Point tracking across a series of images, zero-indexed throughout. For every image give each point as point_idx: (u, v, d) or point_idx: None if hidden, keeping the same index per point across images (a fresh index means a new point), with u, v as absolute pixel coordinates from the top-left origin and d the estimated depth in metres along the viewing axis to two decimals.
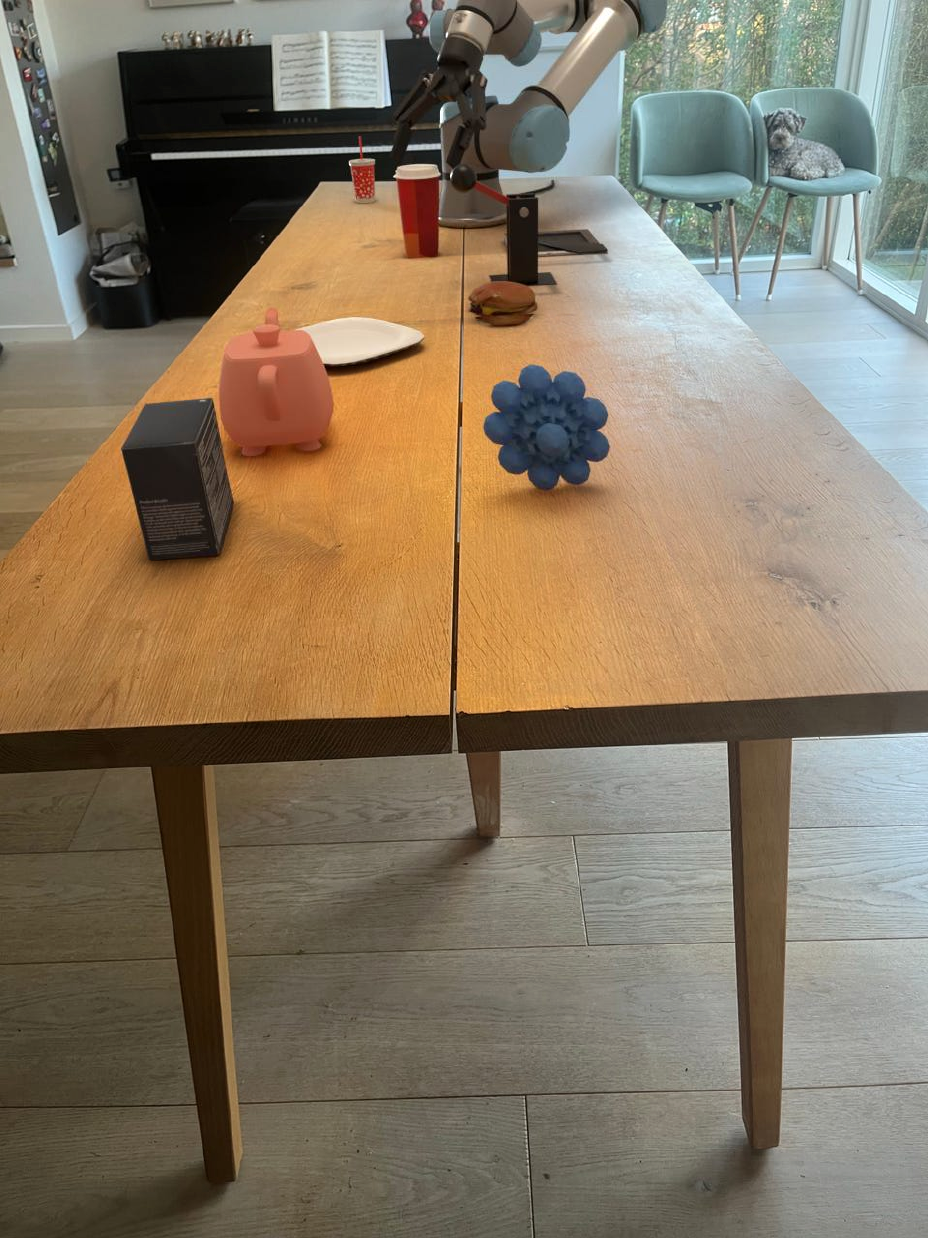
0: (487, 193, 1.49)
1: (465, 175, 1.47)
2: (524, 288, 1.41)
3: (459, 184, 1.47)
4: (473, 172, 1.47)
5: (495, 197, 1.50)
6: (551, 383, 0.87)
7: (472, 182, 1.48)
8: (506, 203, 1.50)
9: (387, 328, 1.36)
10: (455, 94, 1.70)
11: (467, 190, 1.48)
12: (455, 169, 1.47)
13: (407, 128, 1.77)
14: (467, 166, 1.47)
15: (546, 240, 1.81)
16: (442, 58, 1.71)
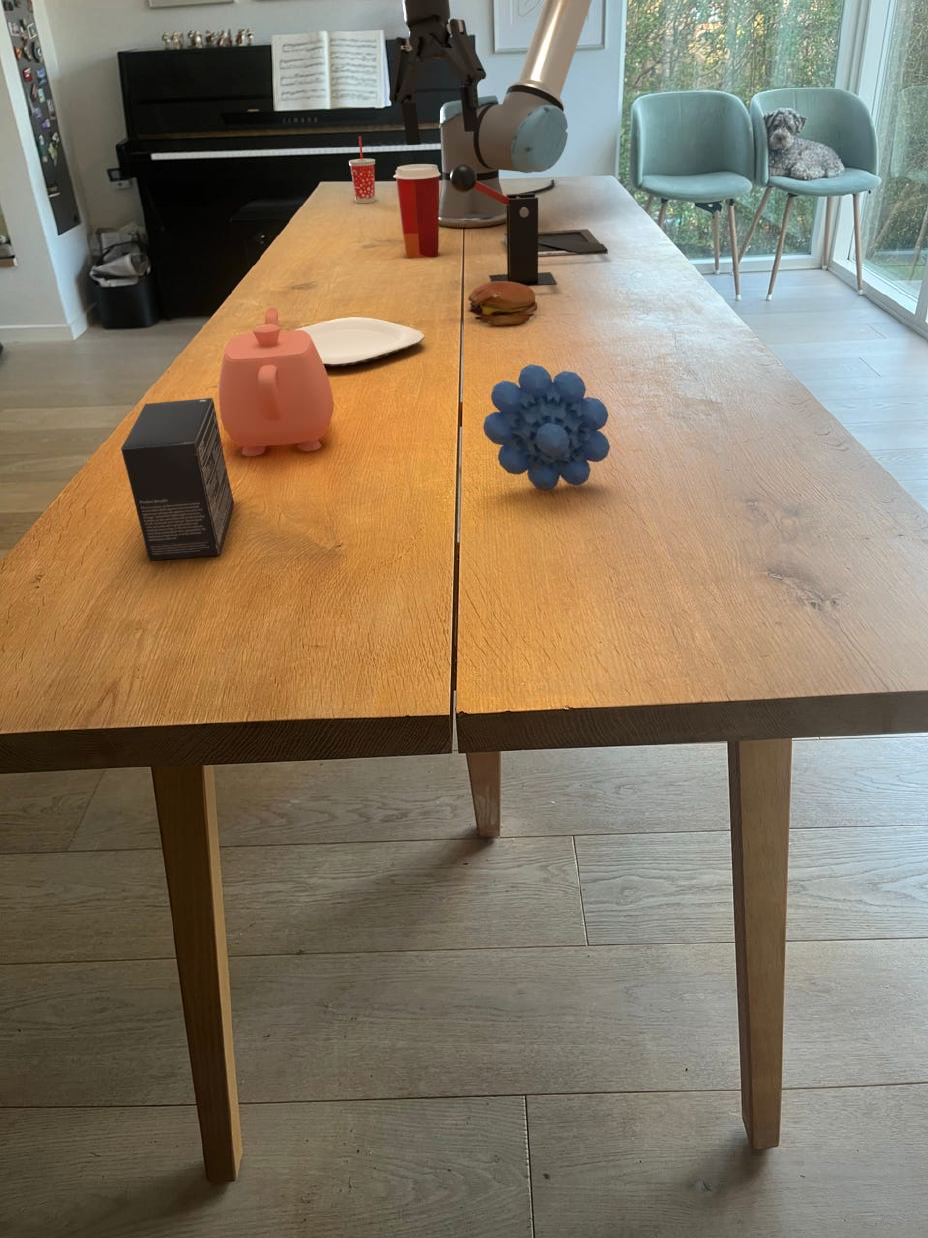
0: (487, 193, 1.49)
1: (465, 175, 1.47)
2: (524, 288, 1.41)
3: (459, 184, 1.47)
4: (473, 172, 1.47)
5: (495, 197, 1.50)
6: (551, 383, 0.87)
7: (472, 182, 1.48)
8: (506, 203, 1.50)
9: (387, 327, 1.36)
10: (441, 55, 1.61)
11: (467, 190, 1.48)
12: (455, 169, 1.47)
13: (409, 105, 1.70)
14: (467, 166, 1.47)
15: (546, 240, 1.81)
16: (411, 22, 1.61)
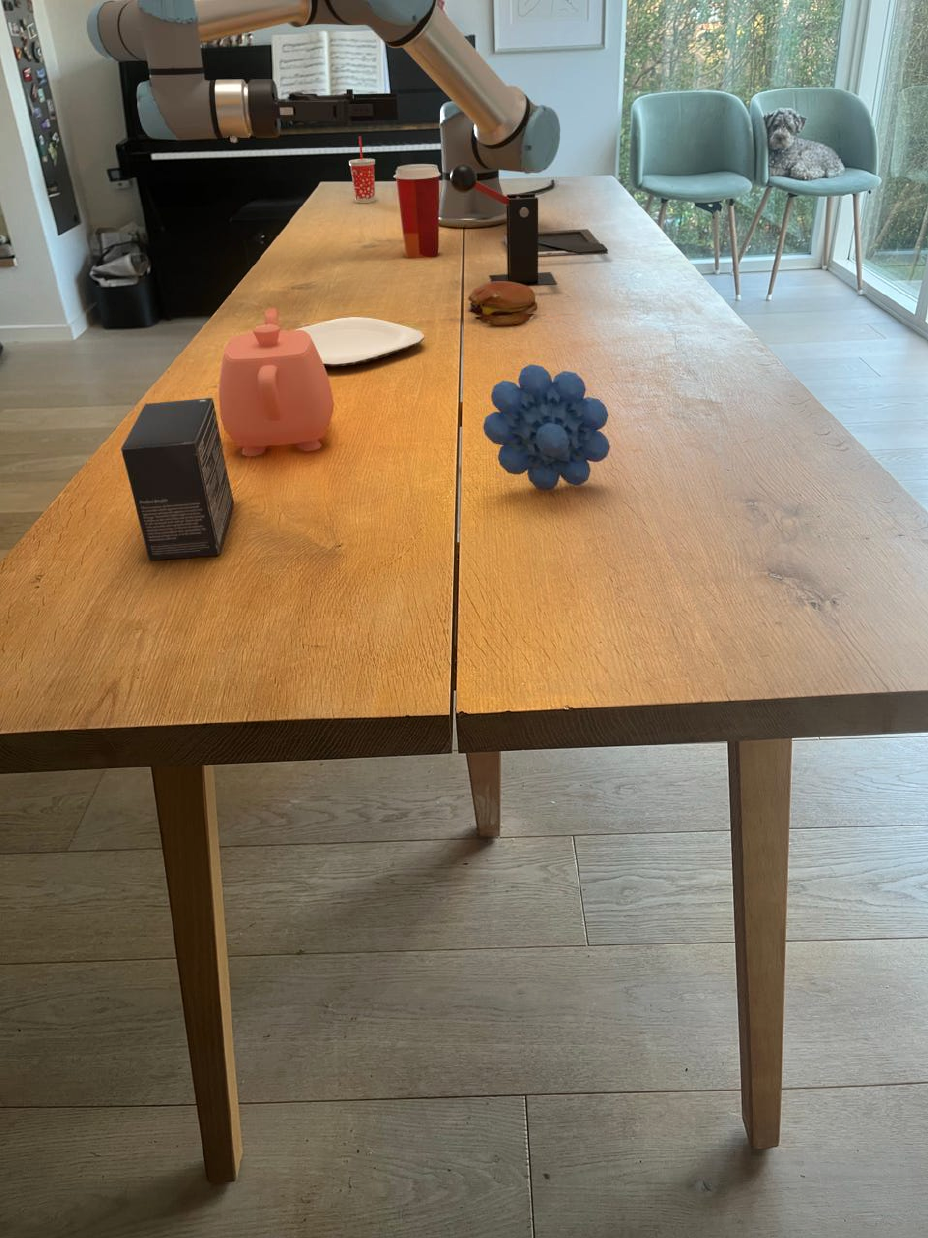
0: (487, 193, 1.49)
1: (465, 175, 1.47)
2: (524, 288, 1.41)
3: (459, 184, 1.47)
4: (473, 172, 1.47)
5: (495, 197, 1.50)
6: (551, 383, 0.87)
7: (472, 182, 1.48)
8: (506, 203, 1.50)
9: (387, 328, 1.36)
10: (315, 121, 1.41)
11: (467, 190, 1.48)
12: (455, 169, 1.47)
13: None
14: (467, 166, 1.47)
15: (546, 240, 1.81)
16: (280, 130, 1.45)
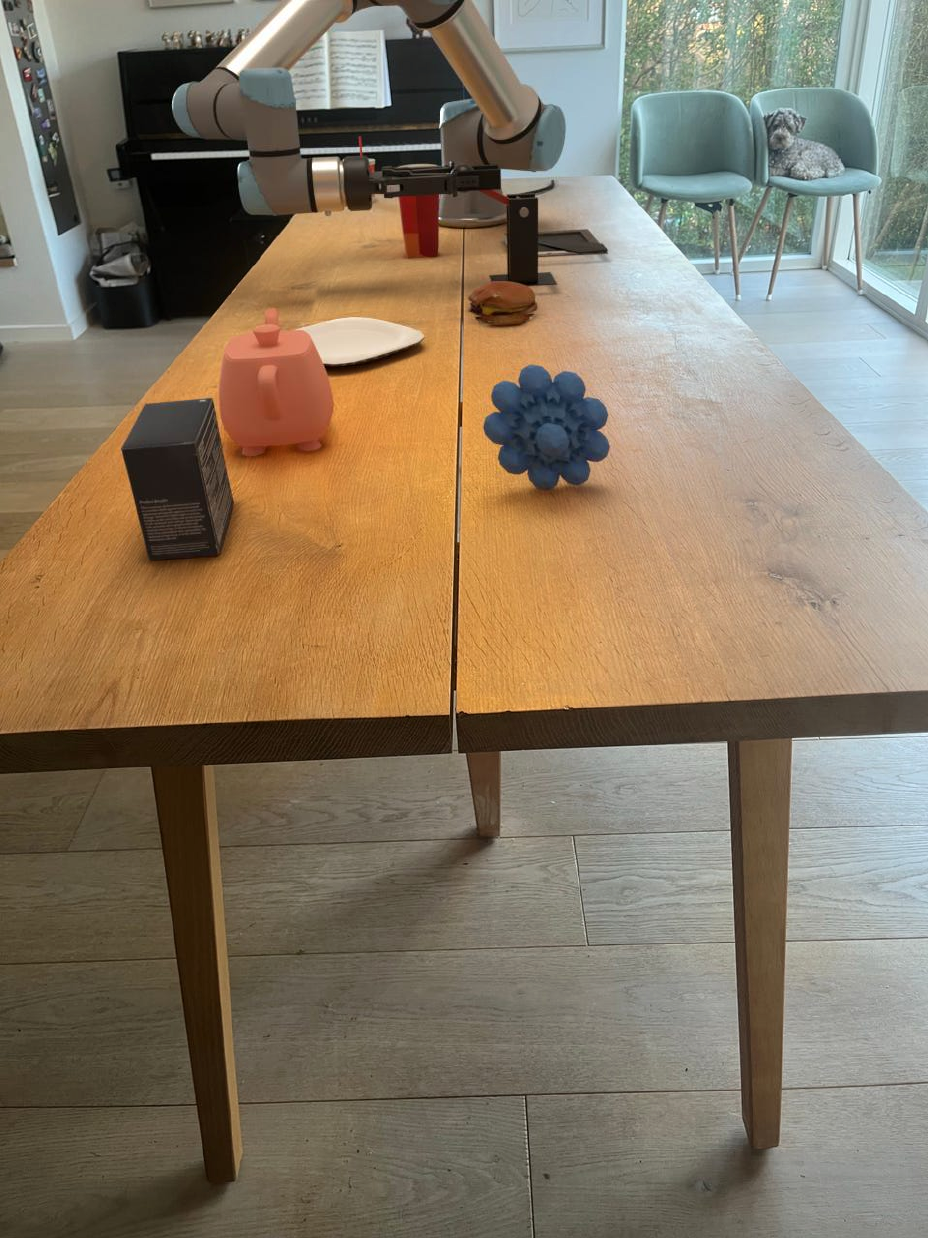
0: (487, 193, 1.49)
1: None
2: (524, 288, 1.41)
3: None
4: None
5: (495, 197, 1.50)
6: (551, 383, 0.87)
7: None
8: (506, 203, 1.50)
9: (387, 328, 1.36)
10: None
11: None
12: (455, 169, 1.47)
13: None
14: (467, 166, 1.47)
15: (546, 240, 1.81)
16: None
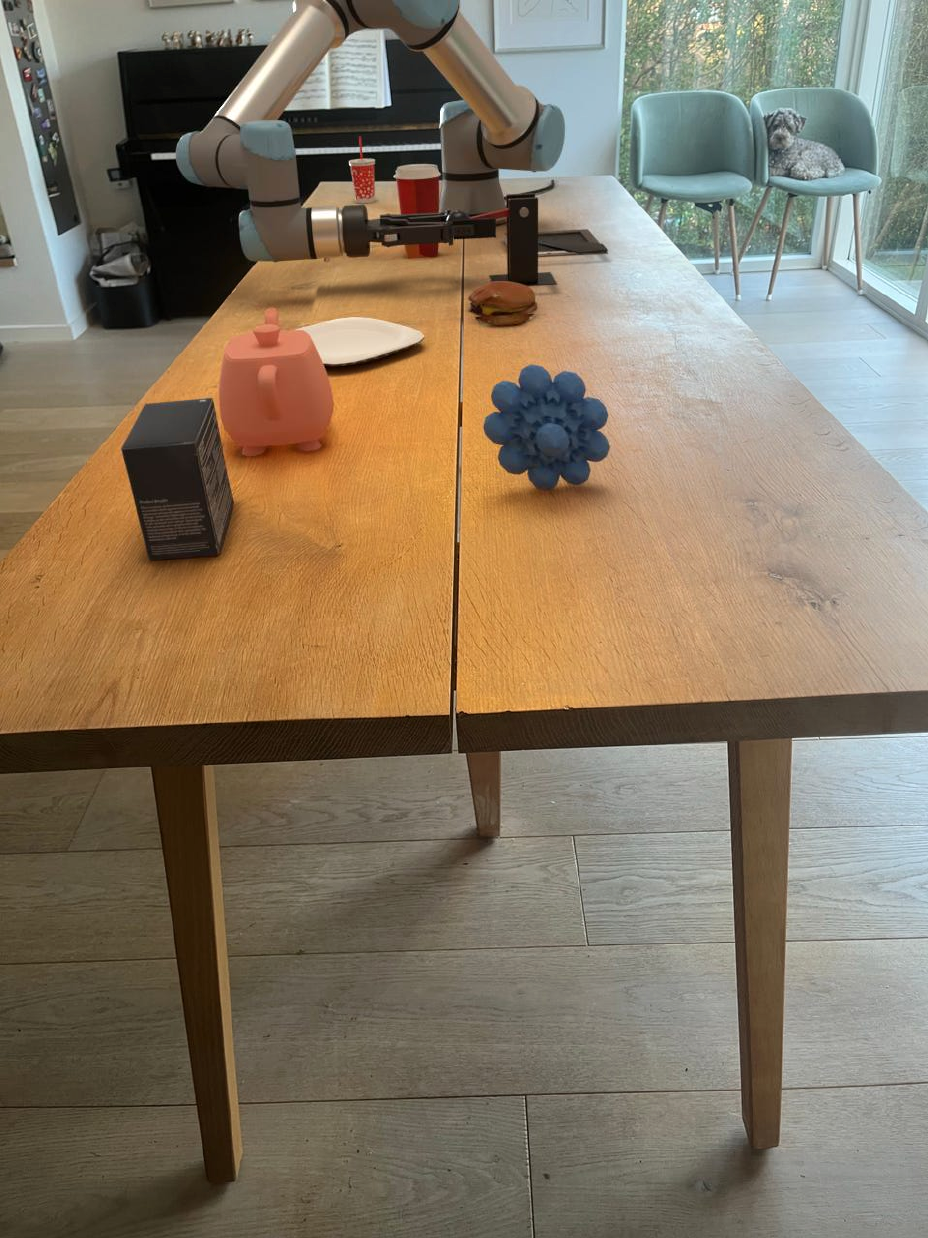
0: None
1: None
2: (524, 288, 1.41)
3: None
4: (462, 213, 1.50)
5: None
6: (551, 383, 0.87)
7: None
8: (506, 215, 1.51)
9: (387, 328, 1.36)
10: None
11: None
12: None
13: None
14: (454, 213, 1.50)
15: (546, 240, 1.81)
16: None
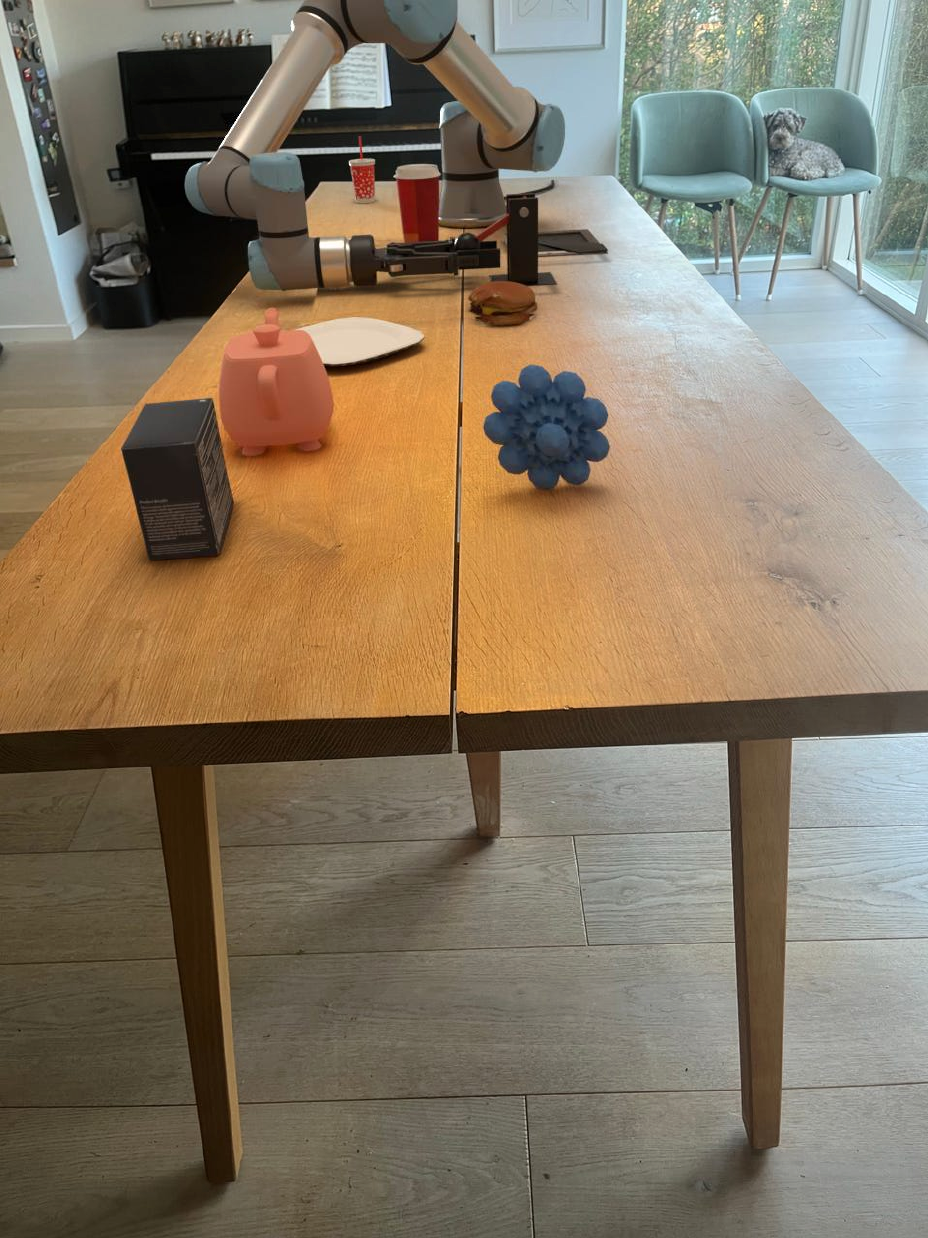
0: (490, 233, 1.52)
1: (465, 245, 1.52)
2: (524, 288, 1.41)
3: None
4: (467, 235, 1.52)
5: (498, 227, 1.52)
6: (551, 383, 0.87)
7: (474, 242, 1.52)
8: None
9: (387, 327, 1.36)
10: None
11: None
12: (456, 249, 1.53)
13: None
14: (459, 237, 1.52)
15: (546, 240, 1.81)
16: None
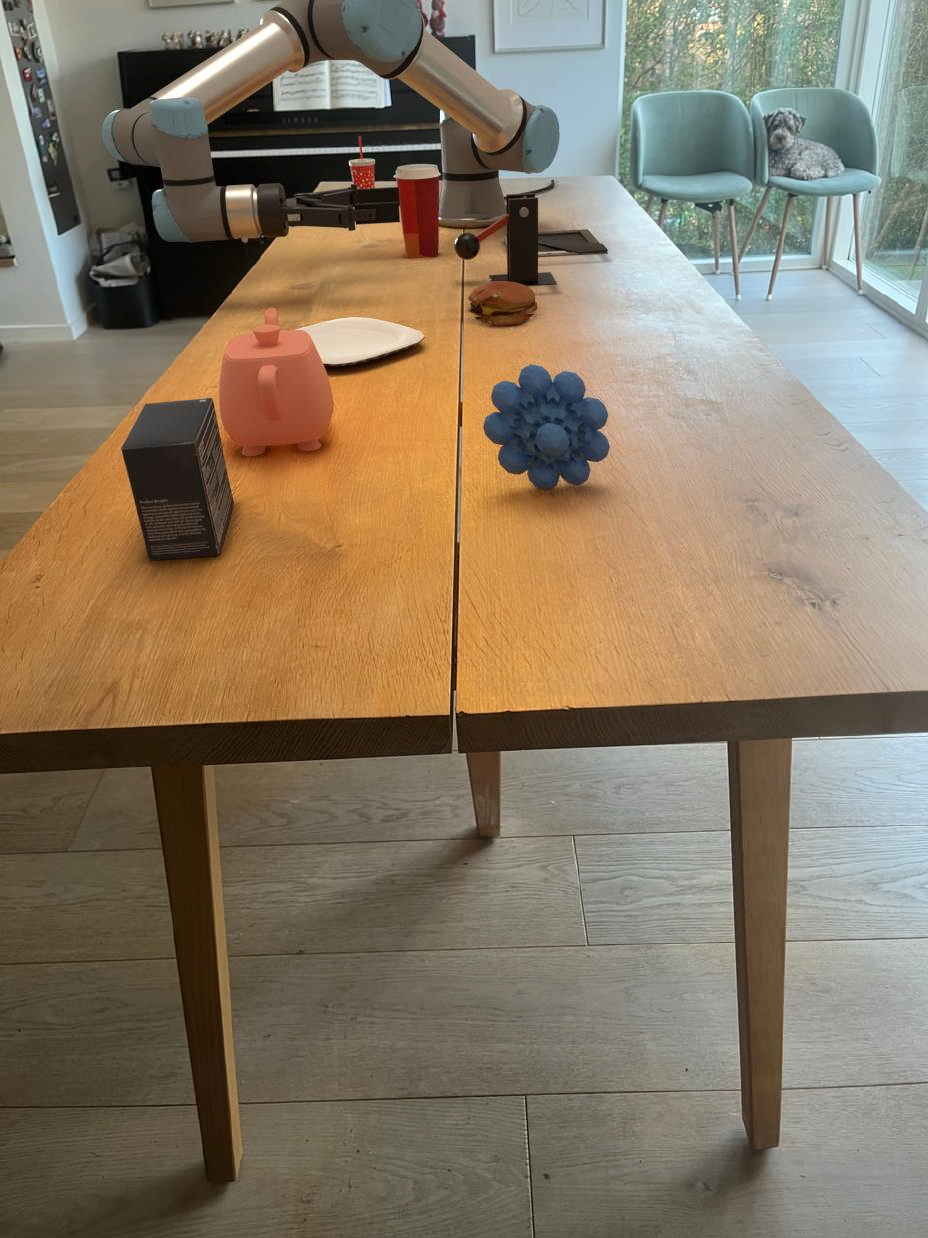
0: (490, 233, 1.52)
1: (465, 245, 1.52)
2: (524, 288, 1.41)
3: (468, 254, 1.53)
4: (467, 235, 1.52)
5: (498, 227, 1.52)
6: (551, 383, 0.87)
7: (474, 242, 1.52)
8: None
9: (387, 327, 1.36)
10: None
11: (477, 249, 1.53)
12: (456, 249, 1.53)
13: (360, 199, 1.55)
14: (459, 237, 1.52)
15: (546, 240, 1.81)
16: None
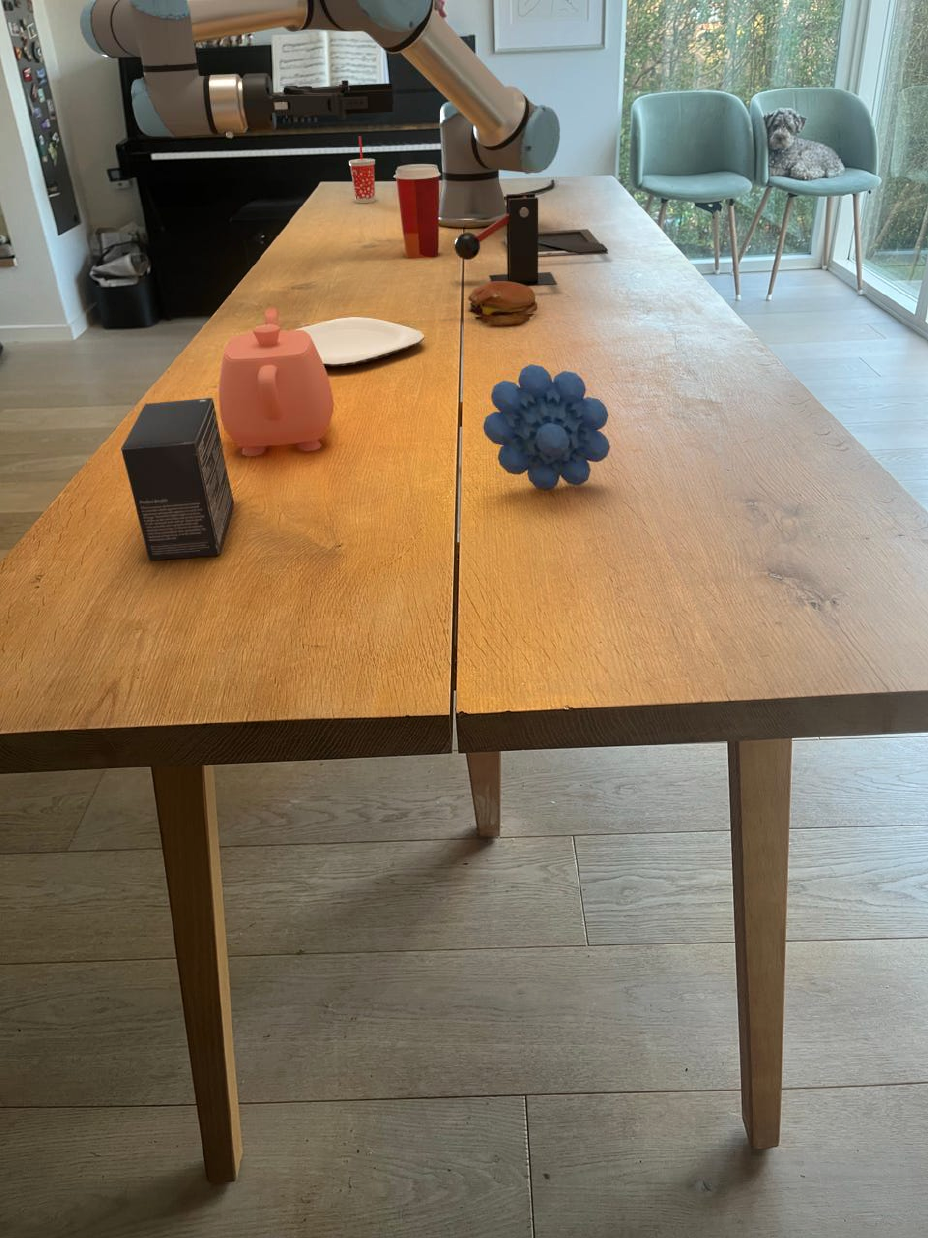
0: (490, 233, 1.52)
1: (465, 245, 1.52)
2: (524, 288, 1.41)
3: (468, 254, 1.53)
4: (467, 235, 1.52)
5: (498, 227, 1.52)
6: (551, 383, 0.87)
7: (474, 242, 1.52)
8: None
9: (387, 328, 1.36)
10: (310, 114, 1.40)
11: (477, 249, 1.53)
12: (456, 249, 1.53)
13: None
14: (459, 237, 1.52)
15: (546, 240, 1.81)
16: None
